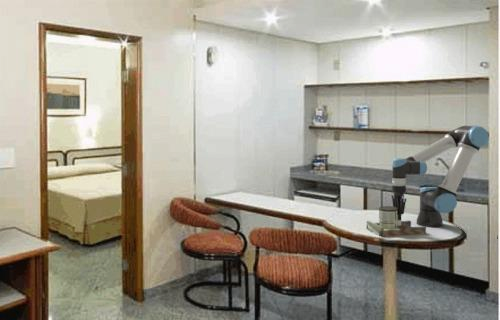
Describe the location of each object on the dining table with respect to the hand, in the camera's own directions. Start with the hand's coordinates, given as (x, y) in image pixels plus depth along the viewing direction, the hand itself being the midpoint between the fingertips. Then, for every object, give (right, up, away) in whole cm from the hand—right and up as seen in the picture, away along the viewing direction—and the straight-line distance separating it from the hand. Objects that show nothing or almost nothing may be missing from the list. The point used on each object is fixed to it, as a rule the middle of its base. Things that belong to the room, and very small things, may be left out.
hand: (398, 225), depth 270 cm
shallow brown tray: (-2, -4, 0) cm, 4 cm away
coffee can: (-6, -4, -1) cm, 7 cm away
